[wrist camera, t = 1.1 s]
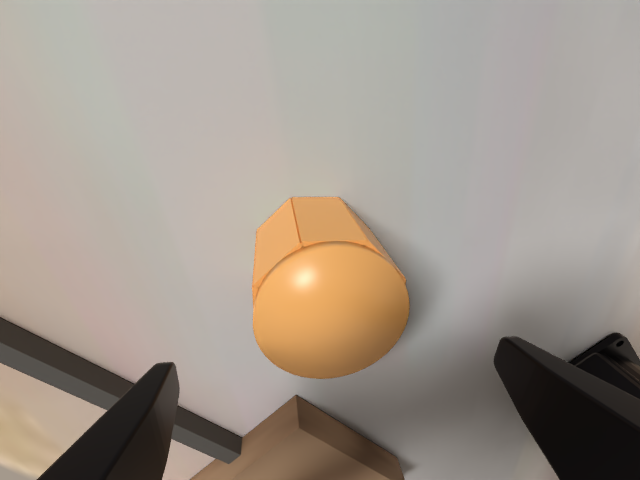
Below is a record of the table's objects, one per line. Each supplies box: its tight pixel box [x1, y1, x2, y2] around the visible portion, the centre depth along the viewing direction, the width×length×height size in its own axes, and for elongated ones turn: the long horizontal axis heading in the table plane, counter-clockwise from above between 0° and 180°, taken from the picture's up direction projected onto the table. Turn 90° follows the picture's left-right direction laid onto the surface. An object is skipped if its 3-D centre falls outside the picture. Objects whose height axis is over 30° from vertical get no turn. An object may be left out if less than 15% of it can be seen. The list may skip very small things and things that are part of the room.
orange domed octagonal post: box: [252, 197, 409, 379], centre depth 12 cm, size 5×5×5 cm
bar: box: [0, 318, 242, 464], centre depth 16 cm, size 16×1×1 cm, turn 43°
